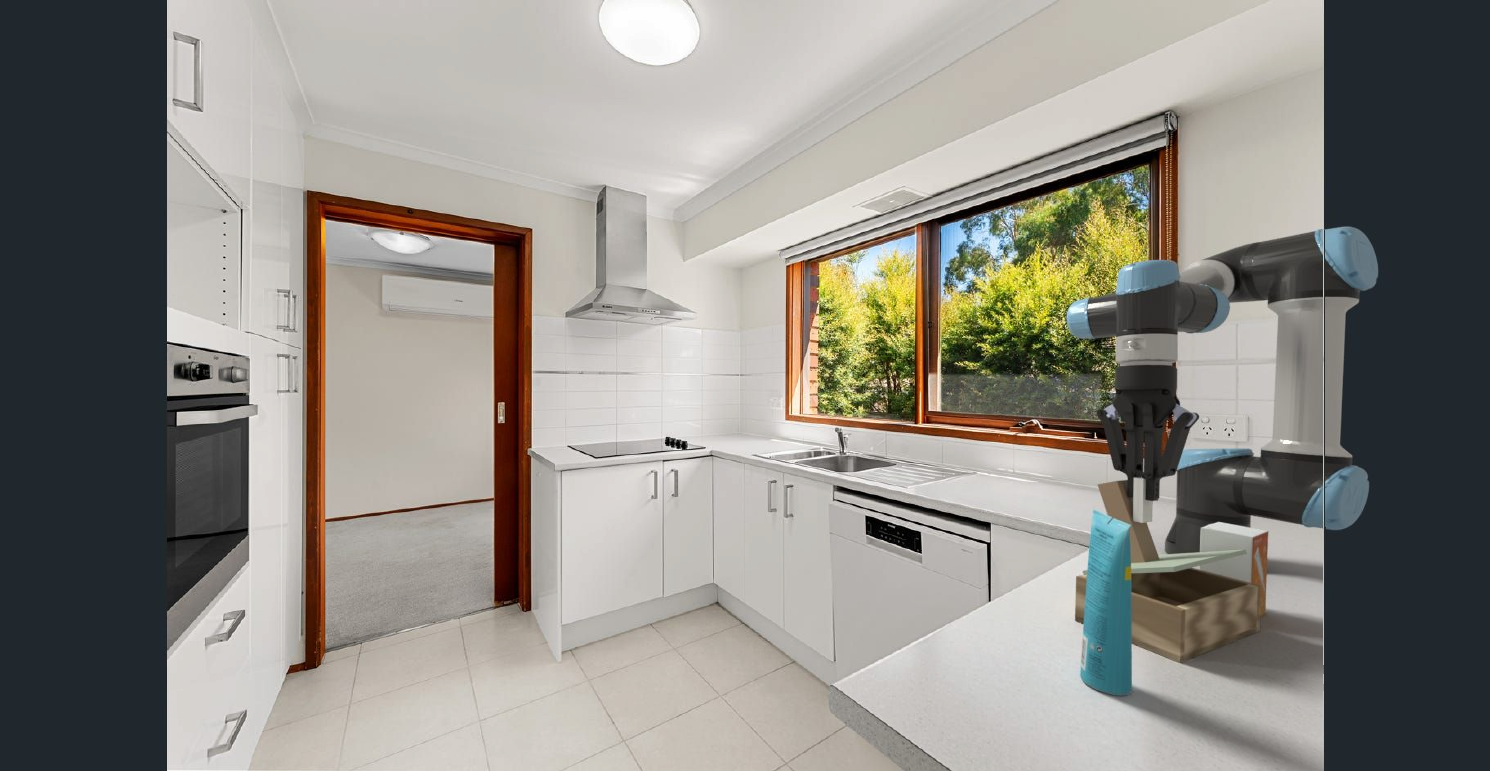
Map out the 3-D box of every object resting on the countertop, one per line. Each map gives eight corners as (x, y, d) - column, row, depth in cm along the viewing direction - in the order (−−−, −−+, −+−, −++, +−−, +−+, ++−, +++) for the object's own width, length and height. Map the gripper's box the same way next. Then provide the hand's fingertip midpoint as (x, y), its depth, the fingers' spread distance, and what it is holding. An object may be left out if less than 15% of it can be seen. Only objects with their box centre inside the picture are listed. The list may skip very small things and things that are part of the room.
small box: (1251, 625, 78) (1253, 536, 78) (1196, 609, 83) (1199, 526, 83) (1267, 613, 82) (1269, 530, 82) (1214, 599, 88) (1216, 520, 88)
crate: (1156, 597, 88) (1157, 558, 88) (1259, 630, 76) (1260, 585, 76) (1074, 620, 78) (1076, 576, 78) (1180, 662, 66) (1181, 610, 66)
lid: (1157, 558, 87) (1130, 482, 91) (1247, 553, 77) (1212, 467, 81) (1083, 575, 78) (1057, 489, 82) (1174, 571, 68) (1139, 473, 72)
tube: (1150, 704, 57) (1155, 525, 57) (1104, 702, 57) (1109, 523, 57) (1105, 667, 64) (1109, 509, 64) (1064, 666, 64) (1068, 508, 64)
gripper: (1087, 365, 84) (1084, 513, 84) (1183, 361, 73) (1180, 533, 72) (1113, 367, 88) (1111, 510, 87) (1209, 364, 76) (1207, 529, 76)
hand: (1142, 521), depth 80 cm, fingers closed
